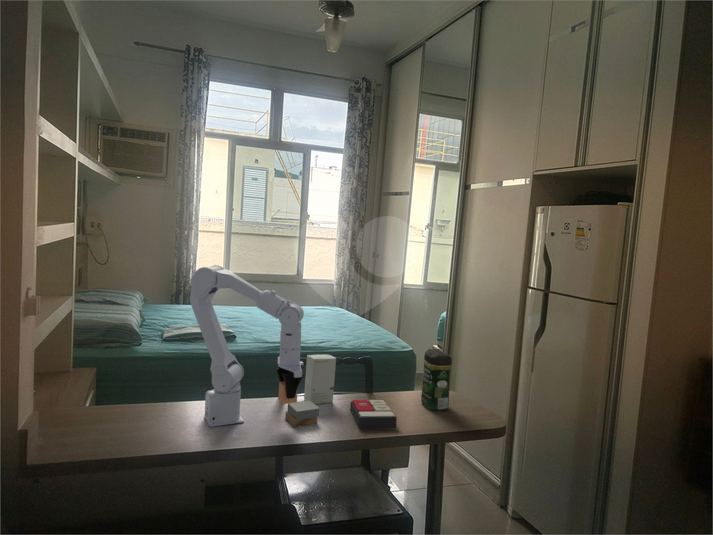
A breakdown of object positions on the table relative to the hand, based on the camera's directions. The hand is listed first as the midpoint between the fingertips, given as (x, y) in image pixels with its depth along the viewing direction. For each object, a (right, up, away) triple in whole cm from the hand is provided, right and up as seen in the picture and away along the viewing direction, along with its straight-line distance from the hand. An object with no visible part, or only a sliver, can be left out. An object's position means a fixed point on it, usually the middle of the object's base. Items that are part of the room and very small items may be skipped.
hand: (287, 395), depth 133 cm
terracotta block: (0, -2, 0) cm, 2 cm away
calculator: (+24, -10, +9) cm, 28 cm away
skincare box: (+7, -8, +21) cm, 24 cm away
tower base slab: (+3, -9, +4) cm, 11 cm away
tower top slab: (+4, -7, +4) cm, 9 cm away
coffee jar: (+45, -10, +23) cm, 51 cm away
